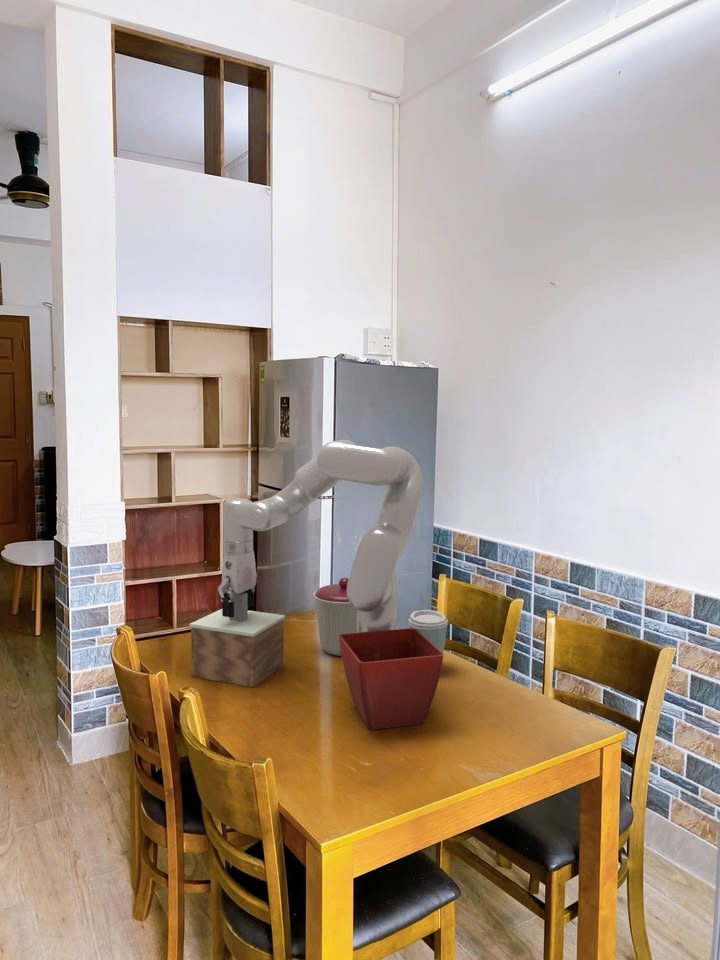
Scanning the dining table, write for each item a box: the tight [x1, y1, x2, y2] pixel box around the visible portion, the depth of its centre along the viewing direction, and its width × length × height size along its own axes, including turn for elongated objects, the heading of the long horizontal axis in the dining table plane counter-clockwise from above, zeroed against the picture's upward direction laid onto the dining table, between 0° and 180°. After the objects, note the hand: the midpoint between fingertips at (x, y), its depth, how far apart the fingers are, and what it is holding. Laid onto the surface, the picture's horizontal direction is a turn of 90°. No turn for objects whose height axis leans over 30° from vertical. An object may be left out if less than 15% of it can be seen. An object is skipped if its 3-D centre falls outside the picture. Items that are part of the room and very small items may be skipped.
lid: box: [189, 592, 286, 637], centre depth 187 cm, size 19×17×8 cm
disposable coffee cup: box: [407, 609, 449, 654], centre depth 191 cm, size 11×11×15 cm
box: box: [190, 619, 285, 688], centre depth 188 cm, size 18×16×13 cm
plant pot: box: [339, 627, 445, 730], centre depth 162 cm, size 19×19×17 cm
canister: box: [312, 577, 358, 657], centre depth 205 cm, size 18×18×21 cm
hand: (238, 611), depth 187 cm, fingers open, 9 cm apart
